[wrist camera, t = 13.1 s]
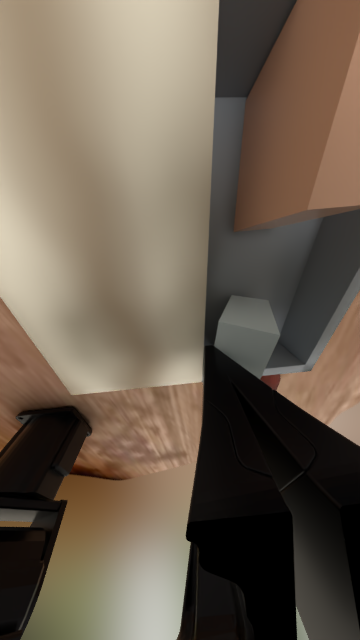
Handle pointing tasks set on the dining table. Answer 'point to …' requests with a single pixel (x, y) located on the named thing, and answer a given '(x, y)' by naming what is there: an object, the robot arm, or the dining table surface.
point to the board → (108, 185)
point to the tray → (277, 243)
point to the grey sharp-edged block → (247, 333)
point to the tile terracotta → (304, 121)
